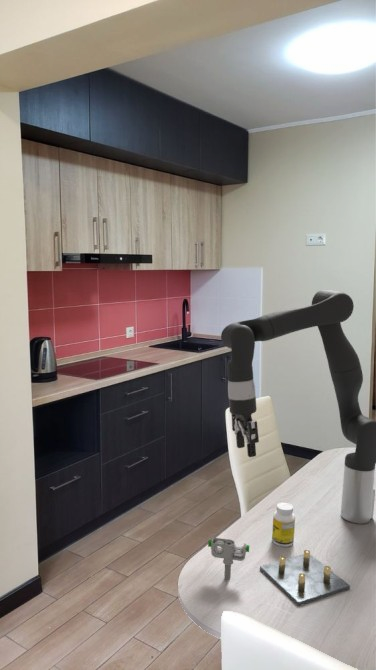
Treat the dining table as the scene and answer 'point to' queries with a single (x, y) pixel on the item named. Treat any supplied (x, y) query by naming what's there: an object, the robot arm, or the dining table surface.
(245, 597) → the dining table surface
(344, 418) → the robot arm
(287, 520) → the pill bottle
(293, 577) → the plate
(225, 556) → the mechanical component
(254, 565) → the dining table surface
